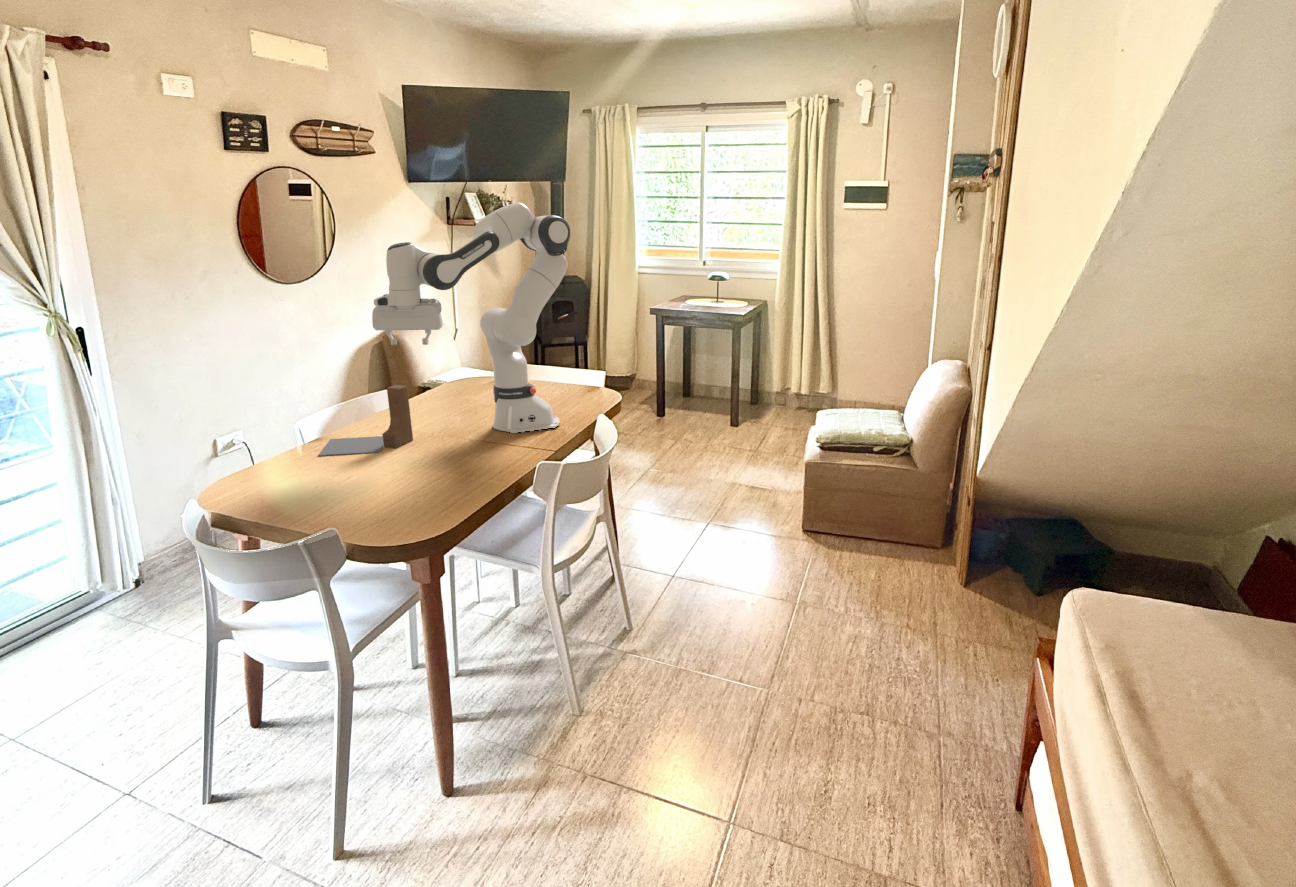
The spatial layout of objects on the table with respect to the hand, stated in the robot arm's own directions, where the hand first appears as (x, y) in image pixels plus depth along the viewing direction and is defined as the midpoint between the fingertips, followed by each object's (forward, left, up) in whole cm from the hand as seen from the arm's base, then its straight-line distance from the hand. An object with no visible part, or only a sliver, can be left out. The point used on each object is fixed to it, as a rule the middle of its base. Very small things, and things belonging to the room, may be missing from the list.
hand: (409, 344), depth 226 cm
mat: (+20, +2, -31) cm, 37 cm away
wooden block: (+6, +2, -31) cm, 32 cm away
